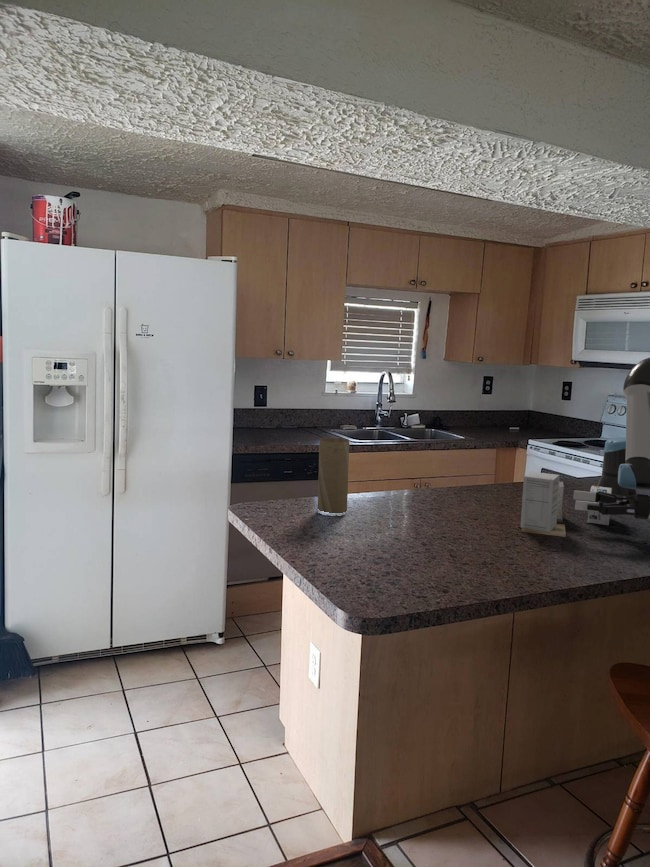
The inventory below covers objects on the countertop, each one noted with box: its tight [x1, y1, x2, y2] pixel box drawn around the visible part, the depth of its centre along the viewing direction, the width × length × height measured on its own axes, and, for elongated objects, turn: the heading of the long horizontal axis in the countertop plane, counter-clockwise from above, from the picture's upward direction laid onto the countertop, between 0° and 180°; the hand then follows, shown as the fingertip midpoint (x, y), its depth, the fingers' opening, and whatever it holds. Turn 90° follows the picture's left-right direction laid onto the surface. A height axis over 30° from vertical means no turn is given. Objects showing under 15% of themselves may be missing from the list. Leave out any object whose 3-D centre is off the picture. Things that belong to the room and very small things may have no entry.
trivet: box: [521, 523, 567, 538], centre depth 209 cm, size 12×13×1 cm
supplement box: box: [520, 471, 561, 532], centre depth 208 cm, size 10×9×17 cm
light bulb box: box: [587, 485, 612, 526], centre depth 220 cm, size 11×7×11 cm, turn 155°
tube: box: [317, 436, 350, 513], centre depth 219 cm, size 10×10×25 cm
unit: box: [557, 480, 565, 523], centre depth 221 cm, size 9×8×12 cm
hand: (574, 499), depth 205 cm, fingers open, 13 cm apart
